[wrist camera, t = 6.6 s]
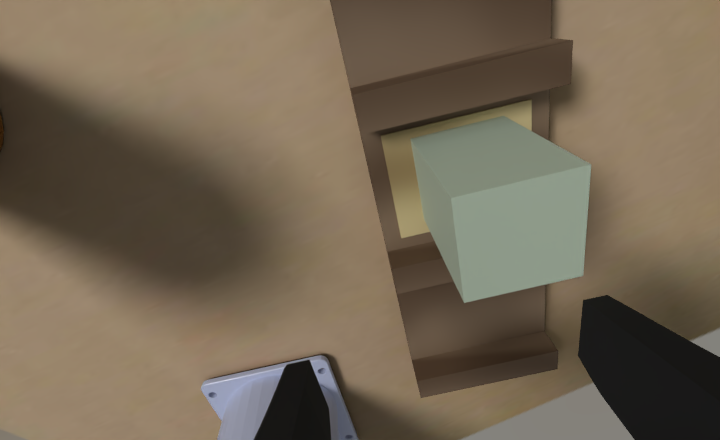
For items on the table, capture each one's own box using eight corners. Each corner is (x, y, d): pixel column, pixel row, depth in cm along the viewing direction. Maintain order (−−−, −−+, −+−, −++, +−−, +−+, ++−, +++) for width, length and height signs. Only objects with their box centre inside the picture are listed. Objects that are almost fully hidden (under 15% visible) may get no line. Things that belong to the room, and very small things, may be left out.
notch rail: (536, 336, 24) (557, 369, 22) (412, 363, 24) (421, 397, 22) (539, -243, 12) (588, -304, 9) (290, -173, 12) (282, -216, 10)
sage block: (507, 199, 18) (583, 275, 12) (423, 218, 18) (464, 302, 13) (503, 115, 16) (591, 164, 10) (410, 138, 16) (450, 198, 11)
